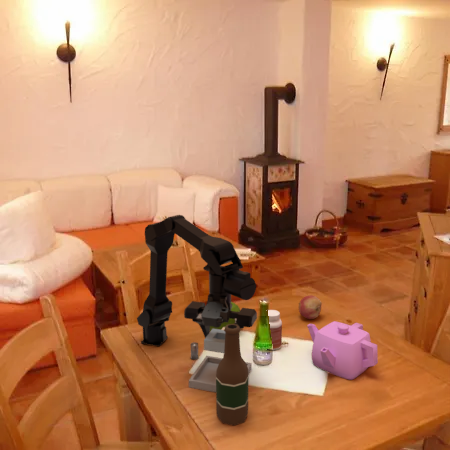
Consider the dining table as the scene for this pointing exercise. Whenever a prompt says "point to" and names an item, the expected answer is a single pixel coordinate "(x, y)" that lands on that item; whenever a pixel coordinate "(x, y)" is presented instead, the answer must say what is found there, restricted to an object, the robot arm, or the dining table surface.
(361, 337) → the teakettle
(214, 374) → the tray
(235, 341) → the beer bottle
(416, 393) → the dining table surface
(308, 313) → the fruit
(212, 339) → the ring
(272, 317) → the pill bottle
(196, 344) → the brown rounded cylinder
